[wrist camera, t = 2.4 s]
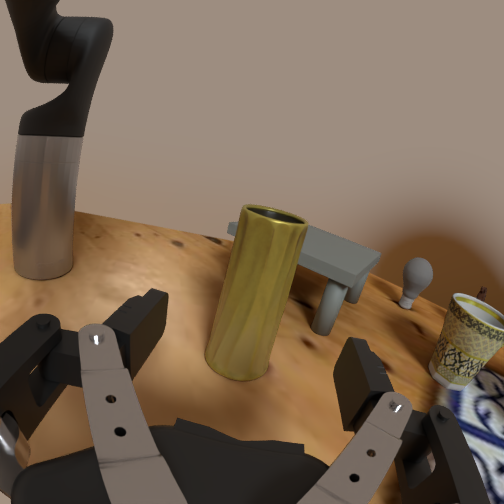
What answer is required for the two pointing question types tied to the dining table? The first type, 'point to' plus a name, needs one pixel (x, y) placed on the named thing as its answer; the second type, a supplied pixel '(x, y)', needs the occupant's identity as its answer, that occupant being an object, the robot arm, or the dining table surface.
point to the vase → (255, 291)
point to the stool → (333, 271)
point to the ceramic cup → (466, 341)
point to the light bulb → (415, 280)
